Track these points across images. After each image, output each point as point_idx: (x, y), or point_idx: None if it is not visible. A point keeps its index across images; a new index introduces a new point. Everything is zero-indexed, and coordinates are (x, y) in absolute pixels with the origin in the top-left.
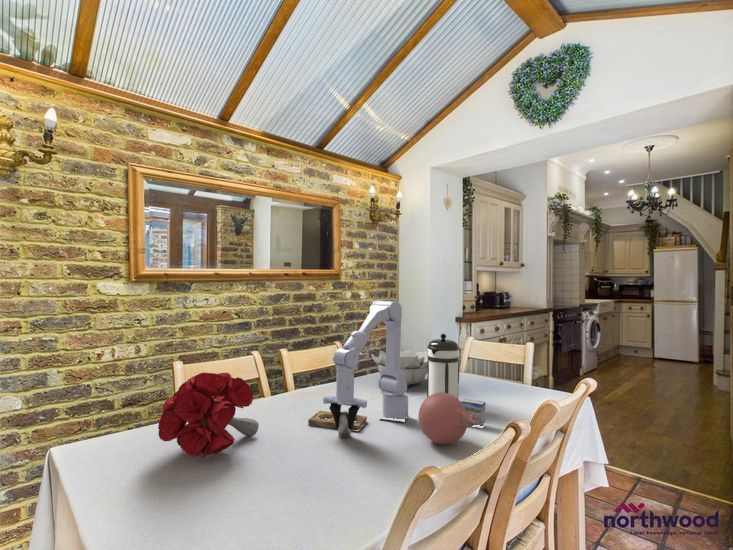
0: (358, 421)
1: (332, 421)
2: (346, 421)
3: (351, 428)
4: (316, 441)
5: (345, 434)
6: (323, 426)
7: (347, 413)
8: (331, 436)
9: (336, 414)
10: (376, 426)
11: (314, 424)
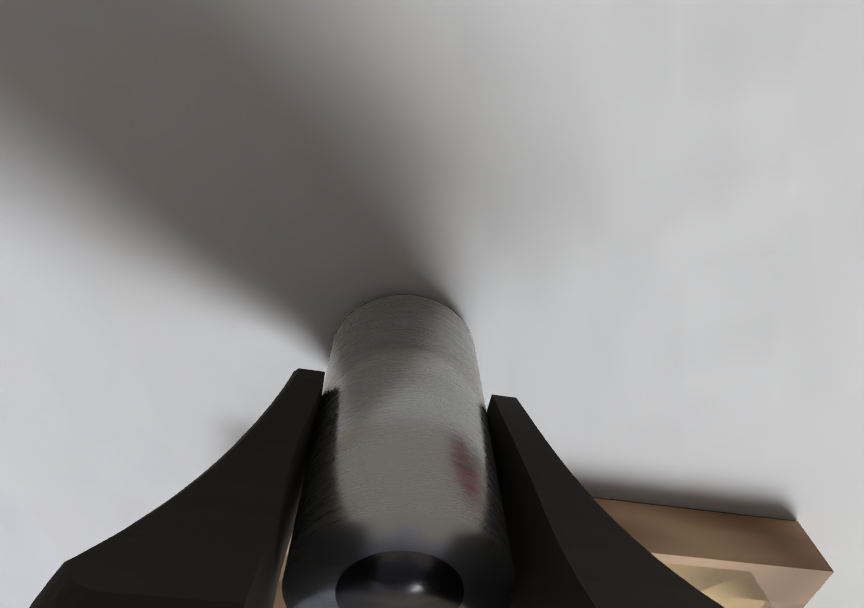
0: None
1: None
2: (352, 435)
3: (290, 378)
4: (731, 163)
5: (376, 315)
6: (652, 510)
7: (345, 592)
8: (551, 325)
9: (553, 532)
10: None
11: (746, 528)
